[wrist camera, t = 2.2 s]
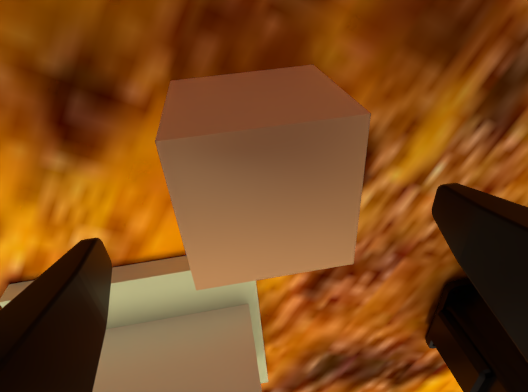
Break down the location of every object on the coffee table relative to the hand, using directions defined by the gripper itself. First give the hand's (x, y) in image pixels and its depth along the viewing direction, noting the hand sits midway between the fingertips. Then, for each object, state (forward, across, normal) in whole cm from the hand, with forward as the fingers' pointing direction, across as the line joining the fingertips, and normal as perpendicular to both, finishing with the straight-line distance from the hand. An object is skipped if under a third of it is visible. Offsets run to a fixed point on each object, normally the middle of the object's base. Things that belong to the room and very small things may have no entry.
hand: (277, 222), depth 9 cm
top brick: (+5, 0, 0) cm, 5 cm away
